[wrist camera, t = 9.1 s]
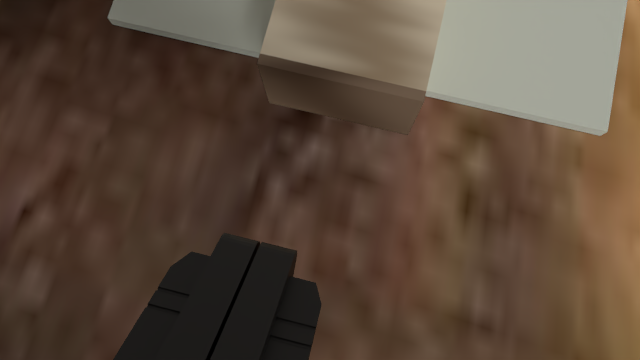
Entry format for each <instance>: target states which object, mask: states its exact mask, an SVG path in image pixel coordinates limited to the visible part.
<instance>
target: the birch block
mask: <svg viewBox="0 0 640 360" xmlns="http://www.w3.org/2000/svg"><path fill="white" fill-rule="evenodd" d="M446 1H447V0H275V4H274V7H273V10H272V14H271V17H270V21H269V24H268V28H267V31H266V34H265V38H264V41H263V45H262V48H261V51H260V55H259V58H258V62H257V65H258V69H259V72H260V75H261V78H262V81H263V85H264V88H265V91H266V94H267V97H268V100H269V103H273V104H277V105H281V106H285V107H290V108H294V109H298V110H303V111H307V112H311V113H315V114H320V115H324V116H328V117H333V118H337V119H341V120H345V121H350V122H354V123H358V124H362V125H367V126H371V127H375V128H380V129H384V130H388V131H392V132H397V133H401V134H405V135H408V134H409V132H410V129H411V127H412V125H413V123H414V121H415V119H416V117H417V115H418V113H419V111H420V109H421V107H422V105H423V103H424V99H425V95H426V90H427V86H428V81H429V77H430V72H431V68H432V63H433V59H434V54H435V50H436V45H437V41H438V36H439V32H440V27H441V23H442V19H443V14H444V10H445V5H446Z"/></svg>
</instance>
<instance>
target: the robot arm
mask: <svg viewBox="0 0 640 360" xmlns="http://www.w3.org/2000/svg"><path fill="white" fill-rule="evenodd" d="M296 257H297V251H296V250H292V249H288V248H284V247H280V246H276V245H272V244H268V243H264V242H262V243H261V244H260V242H259V241H255V240H251V239H247V238H243V237H239V236H235V235H231V234H227V233H224V234H223V235H222V236H221V238H220V240H219V242H218V243H217V245H216V247H215V249H214V251H213V253H212V255H211V256H207V255H203V254H199V253H195V252H191V253H189V254H188V255H186V256H185V257H183V258H182V259H181V260H179V261H178V262H176V263H175V264H174V265H172V266H171V267H170V269H169V270H168V272H167V274H166V275H165V277H164V278H163V280H162V282H161V283H160V285H159V286H158V290H157V291H155V293H154V295H153V296H152V298H151V299H150V301H149V303H148V306H147V308H145V309H144V311H143V312H142V314H141V316H140V317H139V319H138V320H137V322H136V324H135V325H134V327H133V329H132V330H131V332H130V333H129V335H128V337H127V338H126V340H125V341H124V343H123V345H122V346H121V348H120V350H119V351H118V353H117V354H116V356H115V358H114V359H113V360H309V356H310V351H311V347H312V343H313V339H314V334H315V330H316V326H317V321H318V317H319V313H320V309H321V301H320V297H319V293H318V289H317V286H316V283H314V282H310V281H306V280H303V279H299V278H295V277H293V274H294V268H295V263H296Z"/></svg>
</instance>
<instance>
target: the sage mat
mask: <svg viewBox="0 0 640 360" xmlns="http://www.w3.org/2000/svg"><path fill="white" fill-rule="evenodd" d="M274 4H275V0H114V1H113V4H112V7H111V9H110V12H109V15H108V19H109V21H110V22H111V23H112V24H113V25H117V26H121V27H125V28H130V29H134V30H138V31H143V32H147V33H152V34H156V35H160V36H165V37H169V38H174V39H178V40H182V41H187V42H191V43H195V44H200V45H204V46H209V47H213V48H217V49H222V50H226V51H231V52H235V53H239V54H244V55H248V56H252V57H257V58H259V55H260V51H261V48H262V45H263V41H264V38H265V34H266V31H267V28H268V24H269V21H270V17H271V14H272V10H273V7H274ZM626 6H627V0H447V1H446V5H445V10H444V14H443V19H442V23H441V27H440V32H439V36H438V41H437V45H436V50H435V54H434V59H433V63H432V68H431V72H430V77H429V81H428V86H427V90H426V95H425V96H428V97H432V98H437V99H441V100H445V101H450V102H454V103H459V104H463V105H467V106H472V107H476V108H480V109H485V110H489V111H494V112H498V113H502V114H507V115H511V116H516V117H520V118H524V119H529V120H533V121H537V122H542V123H546V124H551V125H555V126H559V127H564V128H568V129H573V130H577V131H581V132H586V133H590V134H594V135H599V136H601V135H603V134H605V133H606V132H608V125H609V119H610V112H611V105H612V99H613V92H614V86H615V79H616V72H617V66H618V59H619V52H620V46H621V39H622V32H623V26H624V19H625V12H626Z"/></svg>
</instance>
